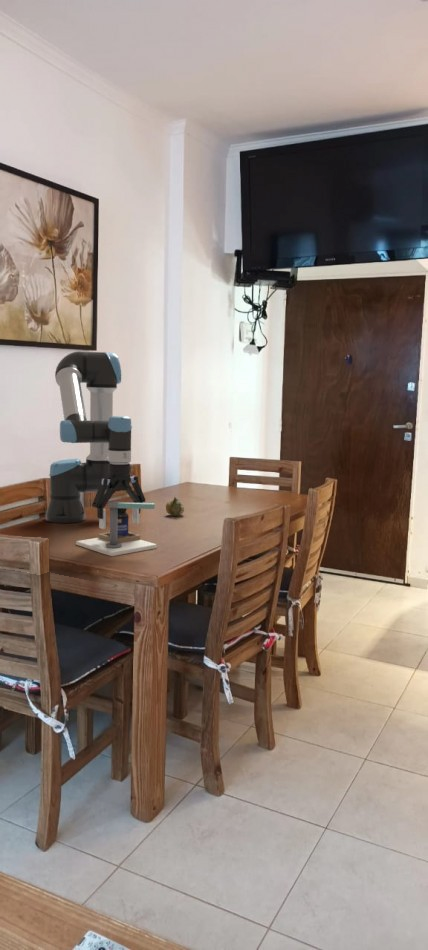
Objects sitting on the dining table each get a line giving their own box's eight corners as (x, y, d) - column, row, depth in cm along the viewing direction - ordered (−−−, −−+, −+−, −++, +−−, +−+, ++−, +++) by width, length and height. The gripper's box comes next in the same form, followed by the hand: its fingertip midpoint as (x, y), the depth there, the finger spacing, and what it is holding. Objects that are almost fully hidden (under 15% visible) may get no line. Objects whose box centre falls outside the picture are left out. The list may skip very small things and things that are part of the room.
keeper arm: (107, 508, 223) (107, 502, 223) (109, 506, 227) (109, 500, 226) (153, 509, 223) (153, 503, 222) (155, 507, 226) (155, 501, 226)
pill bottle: (113, 541, 234) (113, 508, 233) (107, 537, 240) (107, 505, 238) (130, 539, 237) (131, 507, 235) (125, 536, 242) (125, 504, 241)
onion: (188, 515, 290) (188, 496, 289) (177, 518, 283) (177, 498, 282) (173, 513, 294) (173, 494, 293) (162, 515, 287) (162, 496, 286)
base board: (76, 544, 233) (76, 503, 231) (120, 537, 246) (120, 498, 244) (111, 556, 219) (111, 512, 217) (156, 547, 231) (157, 506, 229)
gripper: (94, 466, 223) (94, 532, 226) (156, 461, 240) (155, 523, 243) (81, 464, 228) (81, 528, 231) (142, 459, 246) (141, 519, 248)
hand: (119, 525), depth 237 cm, fingers open, 13 cm apart
